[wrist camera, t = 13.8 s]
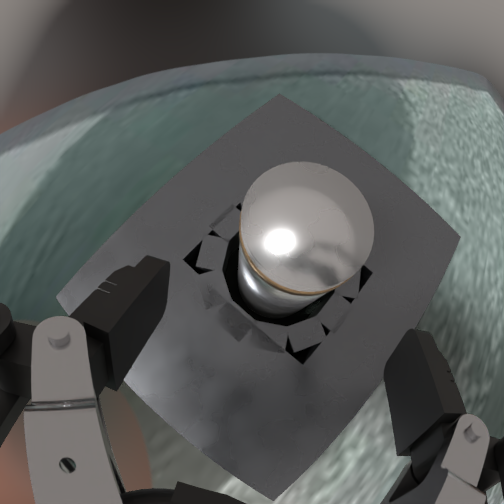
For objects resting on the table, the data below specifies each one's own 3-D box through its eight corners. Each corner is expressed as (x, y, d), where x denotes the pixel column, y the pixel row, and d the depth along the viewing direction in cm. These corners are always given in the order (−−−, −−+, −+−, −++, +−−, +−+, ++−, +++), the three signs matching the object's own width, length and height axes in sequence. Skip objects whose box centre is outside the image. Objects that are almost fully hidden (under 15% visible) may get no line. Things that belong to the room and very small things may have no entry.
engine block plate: (275, 117, 25) (279, 93, 22) (439, 249, 22) (460, 236, 19) (76, 305, 19) (55, 297, 16) (268, 482, 16) (273, 501, 13)
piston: (270, 230, 21) (297, 139, 12) (327, 277, 21) (396, 217, 11) (220, 284, 20) (209, 223, 11) (280, 335, 19) (324, 320, 10)
